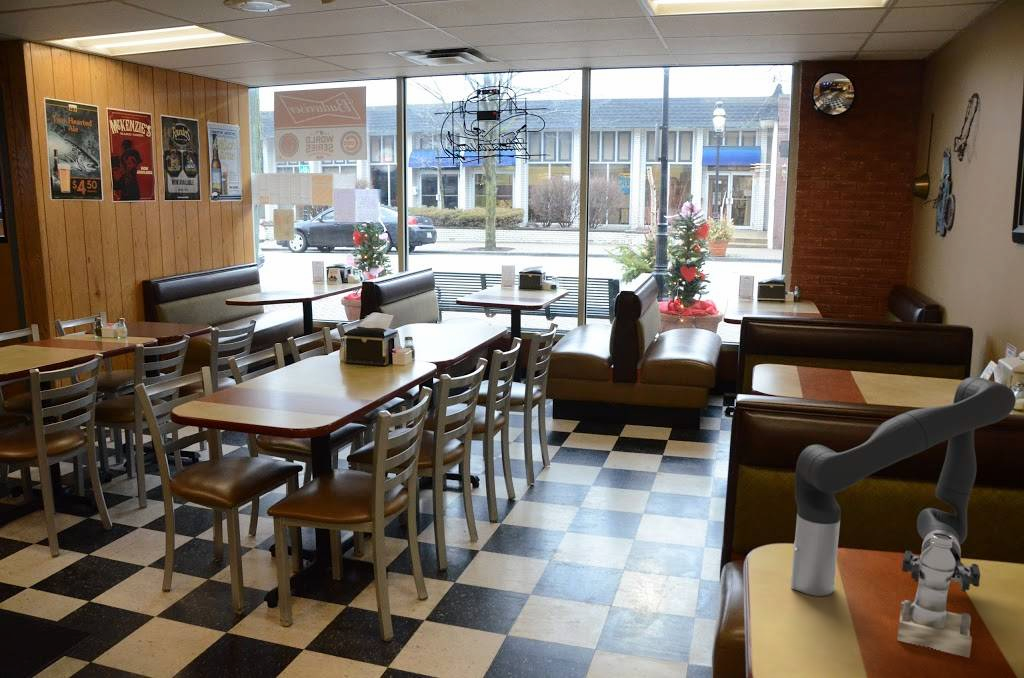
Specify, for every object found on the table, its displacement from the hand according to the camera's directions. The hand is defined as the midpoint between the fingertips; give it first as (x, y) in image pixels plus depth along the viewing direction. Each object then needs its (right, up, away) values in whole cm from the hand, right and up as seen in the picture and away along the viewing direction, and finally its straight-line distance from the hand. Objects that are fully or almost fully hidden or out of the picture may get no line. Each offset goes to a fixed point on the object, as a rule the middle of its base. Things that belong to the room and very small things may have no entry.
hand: (940, 582), depth 166 cm
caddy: (+1, -13, +4) cm, 13 cm away
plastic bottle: (-1, -11, +5) cm, 12 cm away
